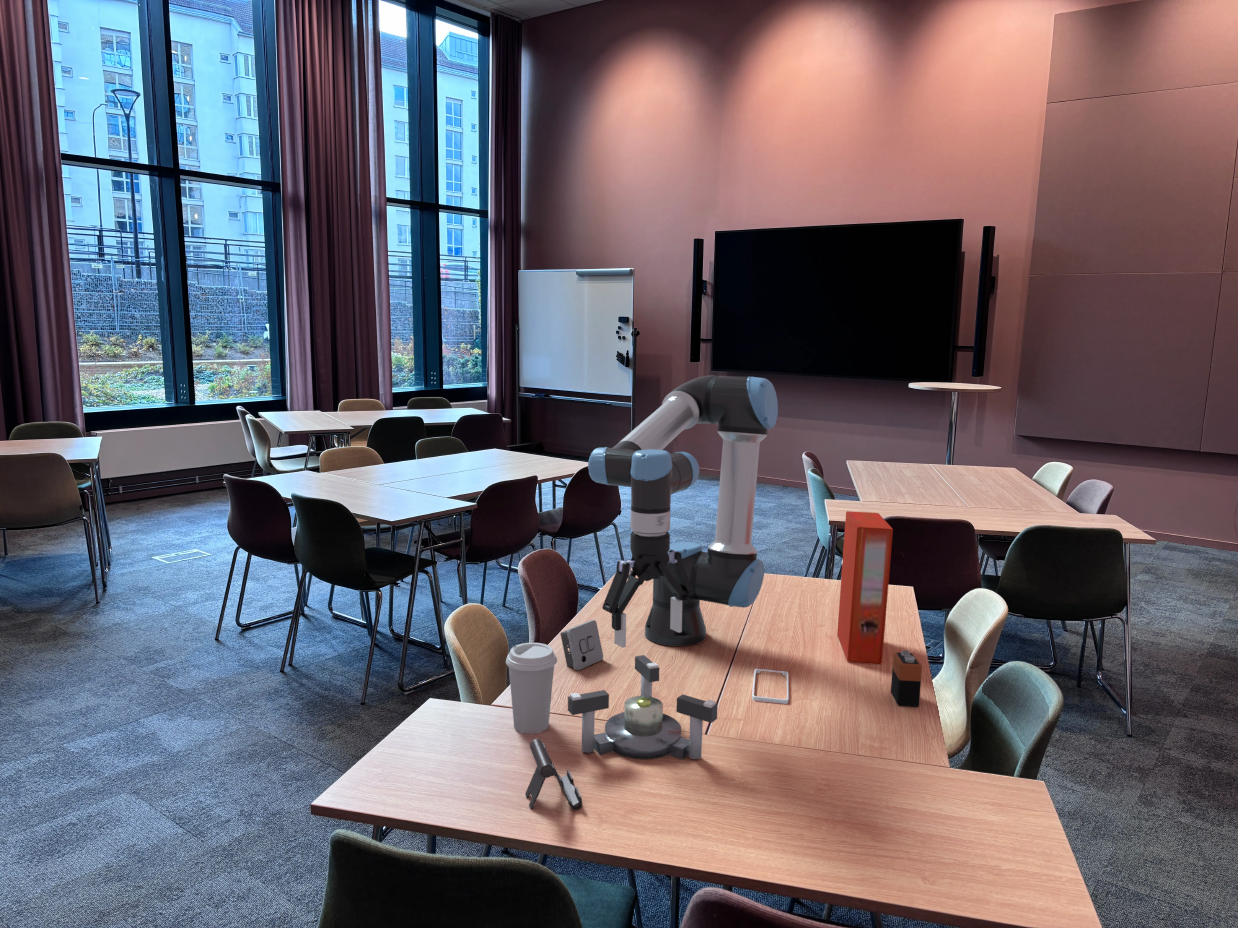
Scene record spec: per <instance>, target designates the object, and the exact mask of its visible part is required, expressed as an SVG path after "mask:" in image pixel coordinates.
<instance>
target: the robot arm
mask: <svg viewBox="0 0 1238 928" xmlns="http://www.w3.org/2000/svg"><path fill="white" fill-rule="evenodd" d="M777 396H778V395H777V392H776V389H775V387H774V385H773V383H772V382H771V381H770V380H769V379H767V378H765V377H755V376H739V375H738V376H734V375H733V376H732V375H731V376H729V375H715V374H714V375H713V374H712V375H710V374H709V375H703V376H699V377H695V378H693V379H690V380H687V382H685V383H682V384H680V385H679V386H677V387H676V388H674V389H673V390H671V391H670V392H669V393H668V394H667V395H666V396H664V399H662V403H661V405H660V406H659V407H658V408H657V409H656V410H655V411H654V412H652V413H651V414H650V415H649V416H648V417H646V418H645V419H644V420H643V421H641V423H639V425H637V426H636V427H634V428H633V430H632V431H630V432H629V433H628V434H627V435H626V436H624V437H623V438H622V439H621V440H620V441H619V442H618V443H616V444H615V445H614V446H613V447H608V446H605V447H597V448H595V449H593V450H592V452H591V453H590V456H589V459H588V465H587V469H588V475H589V477H590V478H591V480H592V481H594V482H595V483H598V484H603V485H606V486H616V487H617V486H618V487H627V488H630V498H631V500H630V501H631V505H630V527H629V528H630V530H631V533H630V540H629V541H630V542H629V543H630V545H629V547H630V551H631V559H630V560H622V559H618V560H617V563H616V572H615V574H614V577H613V579H612V582H611V584H610V587H609V589H608V591H607V594H606V596H605V599H604V602H603V604H602V606H601V607H602V610H604V611H605V612H607V613H609V614H611V628H612V630H614V639H613V640H614V644H615V645H617V646H618V647H621V648H622V649H623V648H626V647H627V613H625V612H624V611H625V610H626V608H627V606H628V605H629V603H630V602H631V600H632V598H633V597H634V596H635V593H636V591H637V590H638V589H639V587H640V586H643V584H644V582H649V581H652V605H651V607H650V610H649V612H648V613H649V614H648V617H647V618H646V619H647V620H646V622H645V625H644V636H645V637H646V639H647V640H648V641H650V642H653V643H655V644H660V645H663V646H671V647H686V646H693V645H698V644H700V643H703V641H704V640H706V637H707V635H706V634H707V627H706V625H705V620H704V616H703V613H702V609H701V601H704V602H708V603H713V604H719V605H723V606H724V605H725V606H729V608H731V607H732V608H733V607H738V608H748V607H750V606H752V605H753V604H754V602H755V601H756V600H757V598H758V596H759V594H760V591H761V588H762V585H763V581H764V577H765V563H764V562H763V561H762V560H761V559H758V550H757V549H756V547H755V546H754V545H753V544H752V539H753V527H754V516H755V505H756V495H757V494H756V492H757V490H756V489H757V479H758V467H759V455H760V443H761V442H762V441H764V439H766V437H767V436H768V430H770V429H773V428H774V427H775V426H776V423H777V419H778V415H779V413H778V412H779V406H778V405H779V404H778V402H779V401H778V397H777ZM701 424H710V425H717V434H718V435H719V436H720V438H721V439H722V452H721V460H720V461H721V462H720V474H719V487H718V499H717V501H718V502H717V511H716V512H717V513H716V524H715V537H714V541H712V542H711V543H710V544H709V545H707V551H703V550H704V549H703V546H702V544H701V543H698V542H694V541H680V542H671V534H670V532H669V531H671V498H672V497H671V496H672V495H673V494H676V493H678V492H679V493H680V492H683V491H686V490H688V488H690V487H691V486H693V485H695V483H697V480H698V478H699V477H700V476H699V475H700V465H699V462H698V460H697V459H696V458H695V457H694V456H693V455H692V454H690V453H689V452H686V451H674V452H671V453H670V452H669V451H668V450H665V448H666V447H667V446H668V445H669V444H670V443H672V441H674V439H676V438H677V436H678V435H680V433H682V432H683V431H684V430H689V429H691V428H693V427H695V425H701ZM636 576H637V577H636Z"/></svg>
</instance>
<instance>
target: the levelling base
mask: <svg viewBox="0 0 1238 928" xmlns="http://www.w3.org/2000/svg"><path fill="white" fill-rule="evenodd" d="M663 704H664V703H663V702H662V701H661V700H660V699H658V698H656V697H653V696H652V697H650V696H641V695H636V696H631V697H629V698H627V699H626V700H624V711H623V712H620V713H617V714H614V715H613V716H611V717H610V718H608V719H607V720H606V722H605V724H604V732H600V733H596V734H595V733H594V751H595V752H597V754H598V755H599V756H601V755H604V754H608V753H615V754H617V755H619V756H622V757H625V758H630V759H634V760H635V759H636V760H654V759H660V758H661V759H662V758H665V757H667V756H668V757H669V756H671V757H674V758H676V759H680V760H684V759H685V758H686V757H689V738H686V737H682V726H681V724H680V722H679V721H678V720H676V718H674V717H672V716H670V715H668V714H666V713H664V712H663V710H664V705H663Z"/></svg>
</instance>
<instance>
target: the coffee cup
mask: <svg viewBox="0 0 1238 928" xmlns="http://www.w3.org/2000/svg"><path fill="white" fill-rule="evenodd" d="M556 655H557V654H556V653H555V652H554V651H553V648H552V647H551V646H550V645H548V644H546V643H540V642H525V643H519V644H516V645H514V646H513V647H511V648H510V650H509V653H507V656H506V660H505V664H506V666H508V675H509V686H510V695H511V706H512V707H511V708H512V719H513V727H514V729H515V731H516V732H519V733H521V734H526V735H533V734H534V735H535V734H540V733H543V732H544V731H546V730H547V729H548V728H549V724H550V712H551V705H552V704H551V701H552V691H553V681H554V674H555V673H554V671H555V665H556V664H557V663H558V659H557V656H556Z"/></svg>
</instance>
